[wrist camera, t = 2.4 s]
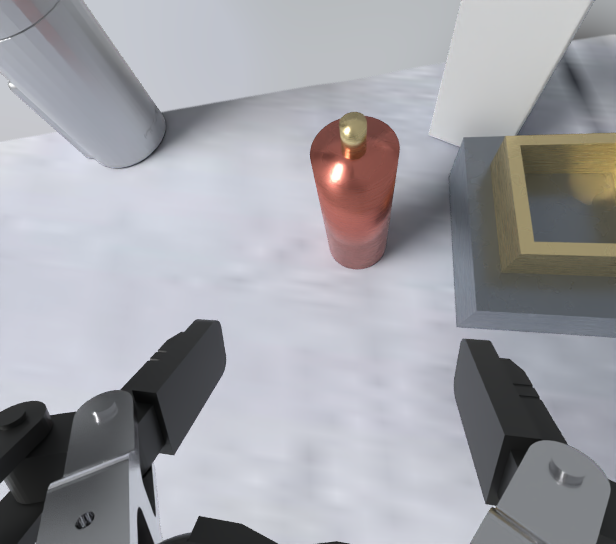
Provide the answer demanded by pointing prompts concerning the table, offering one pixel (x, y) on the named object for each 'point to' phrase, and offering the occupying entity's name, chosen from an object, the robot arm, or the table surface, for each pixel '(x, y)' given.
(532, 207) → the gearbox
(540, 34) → the milk carton
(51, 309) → the table surface
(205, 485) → the table surface
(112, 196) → the table surface
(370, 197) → the red bottle
